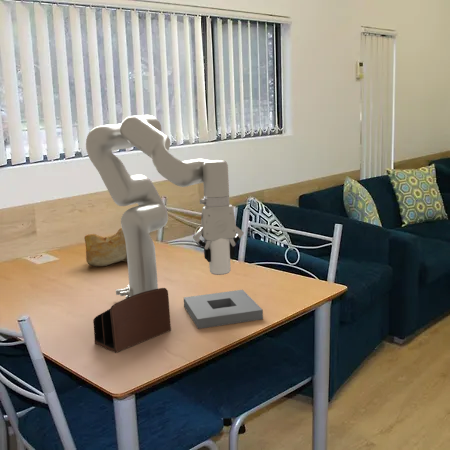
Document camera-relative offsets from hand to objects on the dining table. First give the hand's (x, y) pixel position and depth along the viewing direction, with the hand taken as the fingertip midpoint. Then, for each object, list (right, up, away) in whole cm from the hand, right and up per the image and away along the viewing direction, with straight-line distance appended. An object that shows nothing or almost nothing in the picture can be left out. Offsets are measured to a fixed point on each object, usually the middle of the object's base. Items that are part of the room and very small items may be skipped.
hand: (219, 258), depth 178 cm
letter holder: (-24, -22, -12) cm, 35 cm away
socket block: (+1, -17, +4) cm, 17 cm away
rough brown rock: (-46, -5, +68) cm, 82 cm away
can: (0, -4, +1) cm, 4 cm away
